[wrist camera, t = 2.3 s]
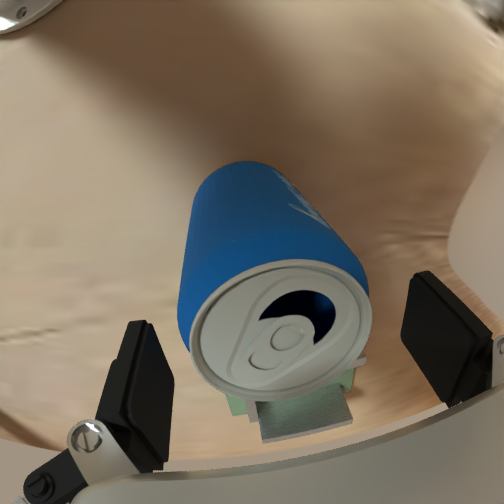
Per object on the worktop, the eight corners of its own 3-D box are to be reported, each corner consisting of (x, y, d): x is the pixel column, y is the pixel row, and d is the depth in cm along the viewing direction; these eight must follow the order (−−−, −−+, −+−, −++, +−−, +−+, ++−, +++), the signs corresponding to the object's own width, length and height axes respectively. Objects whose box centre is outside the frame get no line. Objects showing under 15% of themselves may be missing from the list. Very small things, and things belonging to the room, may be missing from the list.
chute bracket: (232, 339, 23) (237, 384, 19) (344, 317, 23) (366, 357, 19) (247, 405, 27) (253, 445, 23) (337, 387, 28) (352, 423, 24)
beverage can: (314, 195, 20) (419, 307, 9) (256, 271, 22) (297, 421, 11) (230, 138, 17) (260, 197, 7) (173, 225, 19) (139, 372, 9)
